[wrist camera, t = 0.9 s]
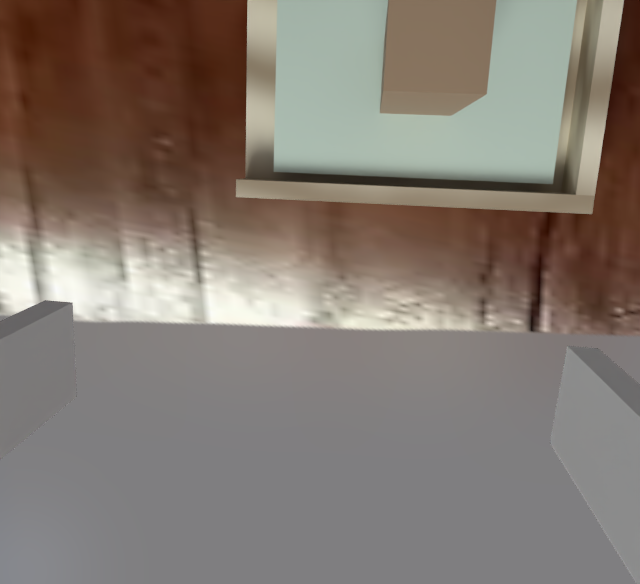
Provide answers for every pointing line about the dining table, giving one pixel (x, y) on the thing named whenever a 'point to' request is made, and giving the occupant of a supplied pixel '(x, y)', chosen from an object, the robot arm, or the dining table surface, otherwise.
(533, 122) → the cover plate
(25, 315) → the robot arm
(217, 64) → the dining table surface
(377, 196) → the birch box
